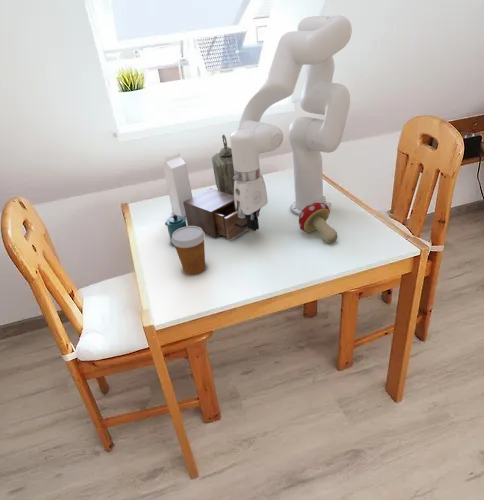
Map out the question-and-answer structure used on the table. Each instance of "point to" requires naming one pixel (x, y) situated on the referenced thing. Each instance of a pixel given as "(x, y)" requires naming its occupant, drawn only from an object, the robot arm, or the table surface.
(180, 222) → the kettle
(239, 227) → the drawer
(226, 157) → the green bell
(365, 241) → the table surface
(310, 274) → the table surface
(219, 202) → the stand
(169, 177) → the milk
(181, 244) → the disposable coffee cup
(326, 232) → the decorative mushroom
